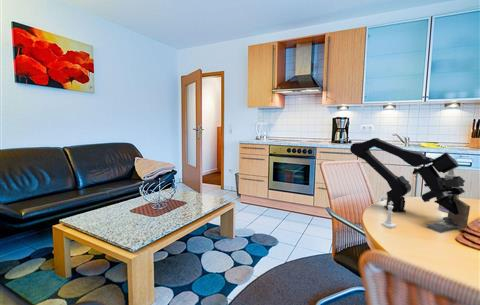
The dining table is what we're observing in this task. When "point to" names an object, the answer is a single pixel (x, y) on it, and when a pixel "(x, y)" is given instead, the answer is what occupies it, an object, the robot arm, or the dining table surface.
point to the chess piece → (389, 218)
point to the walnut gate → (460, 214)
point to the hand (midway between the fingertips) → (457, 214)
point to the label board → (444, 225)
